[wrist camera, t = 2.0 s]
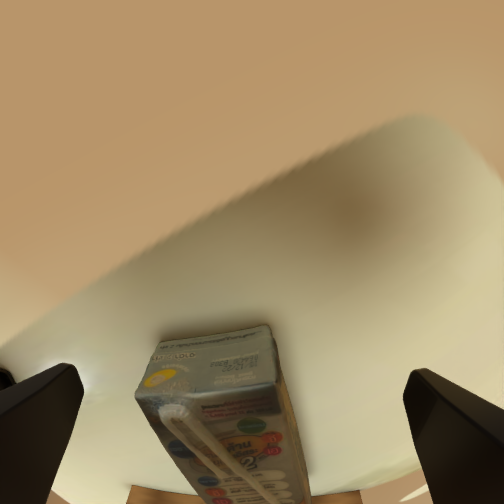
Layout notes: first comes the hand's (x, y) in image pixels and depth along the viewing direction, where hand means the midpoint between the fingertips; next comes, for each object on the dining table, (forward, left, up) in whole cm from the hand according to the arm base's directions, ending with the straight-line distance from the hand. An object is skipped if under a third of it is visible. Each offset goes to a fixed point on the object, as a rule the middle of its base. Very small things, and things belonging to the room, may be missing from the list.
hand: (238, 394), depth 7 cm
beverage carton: (0, -14, -11) cm, 18 cm away
